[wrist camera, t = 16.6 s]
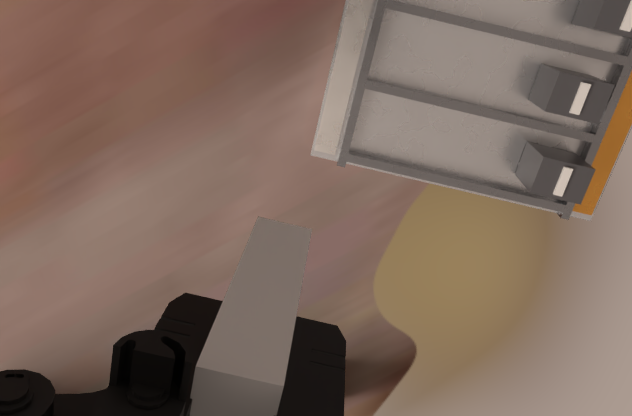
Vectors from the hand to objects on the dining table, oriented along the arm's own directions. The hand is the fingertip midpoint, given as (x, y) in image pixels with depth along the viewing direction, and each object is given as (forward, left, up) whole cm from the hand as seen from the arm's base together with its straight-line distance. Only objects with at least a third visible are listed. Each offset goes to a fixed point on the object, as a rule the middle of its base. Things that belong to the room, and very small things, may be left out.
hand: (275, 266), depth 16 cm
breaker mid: (-4, +16, -28) cm, 32 cm away
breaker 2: (-9, +17, -28) cm, 34 cm away
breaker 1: (+1, +17, -28) cm, 33 cm away
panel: (-4, +11, -29) cm, 32 cm away
